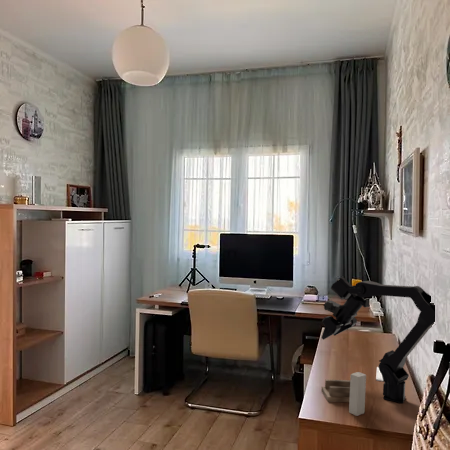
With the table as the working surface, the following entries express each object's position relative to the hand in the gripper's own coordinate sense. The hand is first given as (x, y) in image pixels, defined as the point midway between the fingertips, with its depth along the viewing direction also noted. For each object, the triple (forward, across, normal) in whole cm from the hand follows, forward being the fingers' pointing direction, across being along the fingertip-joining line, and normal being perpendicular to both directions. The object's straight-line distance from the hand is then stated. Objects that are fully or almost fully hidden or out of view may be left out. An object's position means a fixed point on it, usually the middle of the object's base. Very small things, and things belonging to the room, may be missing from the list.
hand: (328, 336), depth 170 cm
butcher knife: (+5, -19, +22) cm, 29 cm away
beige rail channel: (+6, +14, +20) cm, 25 cm away
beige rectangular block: (+1, +22, +28) cm, 35 cm away
